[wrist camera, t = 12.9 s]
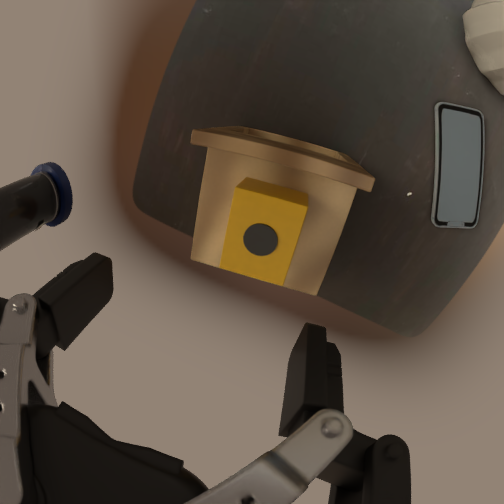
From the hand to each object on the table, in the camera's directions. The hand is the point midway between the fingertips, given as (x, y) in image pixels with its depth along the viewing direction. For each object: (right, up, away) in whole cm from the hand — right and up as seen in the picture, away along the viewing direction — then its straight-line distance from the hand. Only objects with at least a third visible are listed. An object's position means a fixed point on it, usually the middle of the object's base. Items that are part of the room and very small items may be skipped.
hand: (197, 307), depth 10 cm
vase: (+32, +27, +7) cm, 43 cm away
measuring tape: (+3, +4, +12) cm, 13 cm away
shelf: (+5, +9, +21) cm, 23 cm away
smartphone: (+27, +12, +15) cm, 33 cm away
